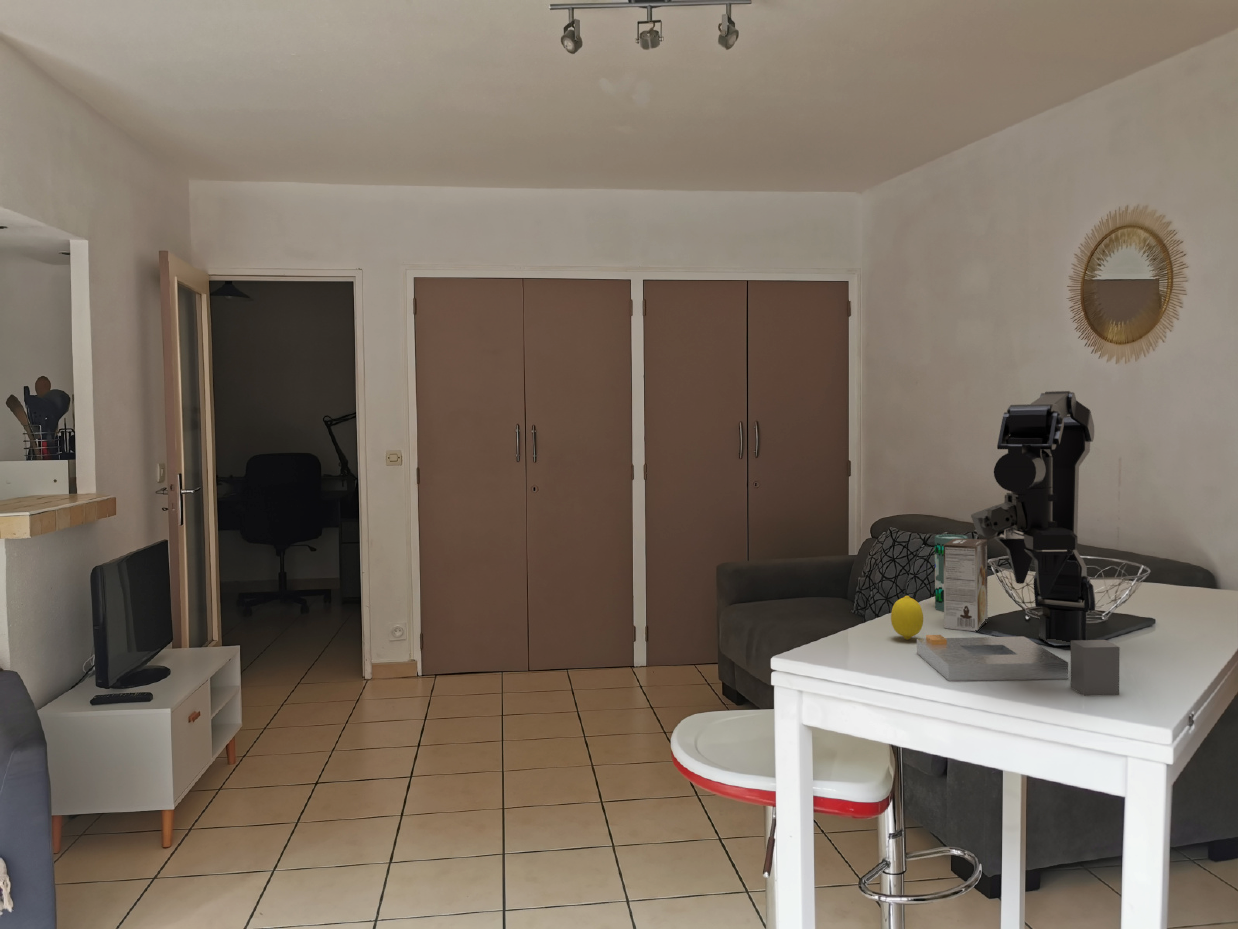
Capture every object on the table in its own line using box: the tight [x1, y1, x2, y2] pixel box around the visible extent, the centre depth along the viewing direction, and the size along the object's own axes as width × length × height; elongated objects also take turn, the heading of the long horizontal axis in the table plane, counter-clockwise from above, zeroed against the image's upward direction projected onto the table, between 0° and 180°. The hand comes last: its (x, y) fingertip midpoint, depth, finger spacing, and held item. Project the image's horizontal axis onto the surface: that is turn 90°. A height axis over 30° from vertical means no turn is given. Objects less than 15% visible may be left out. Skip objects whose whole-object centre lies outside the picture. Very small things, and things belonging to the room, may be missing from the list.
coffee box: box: [943, 538, 989, 632], centre depth 172 cm, size 9×6×16 cm
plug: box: [1070, 639, 1121, 697], centre depth 132 cm, size 5×4×7 cm
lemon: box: [890, 595, 924, 641], centre depth 163 cm, size 6×6×8 cm
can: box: [934, 534, 969, 613], centre depth 186 cm, size 6×6×15 cm
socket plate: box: [916, 634, 1069, 682], centre depth 146 cm, size 18×16×3 cm
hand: (1031, 589), depth 138 cm, fingers open, 9 cm apart
